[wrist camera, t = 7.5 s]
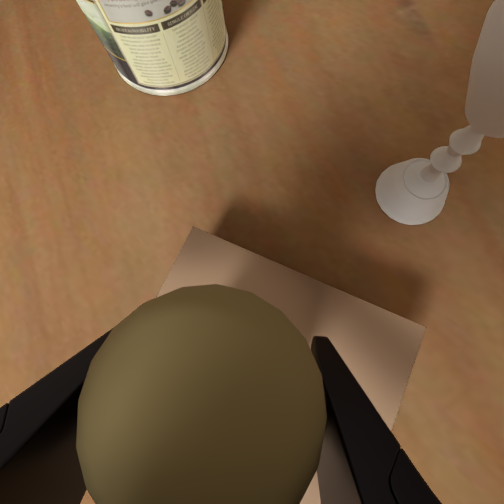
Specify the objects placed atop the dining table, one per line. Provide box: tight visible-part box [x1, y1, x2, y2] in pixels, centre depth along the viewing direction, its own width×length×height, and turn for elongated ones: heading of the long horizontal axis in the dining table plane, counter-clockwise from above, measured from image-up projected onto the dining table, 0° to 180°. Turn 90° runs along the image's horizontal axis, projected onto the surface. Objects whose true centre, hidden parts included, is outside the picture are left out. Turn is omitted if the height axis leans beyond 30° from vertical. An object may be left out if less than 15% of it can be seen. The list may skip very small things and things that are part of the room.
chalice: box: [375, 0, 504, 225], centre depth 15 cm, size 7×7×18 cm
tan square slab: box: [156, 227, 426, 504], centre depth 19 cm, size 15×15×4 cm
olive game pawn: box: [76, 284, 327, 504], centre depth 11 cm, size 6×6×11 cm
